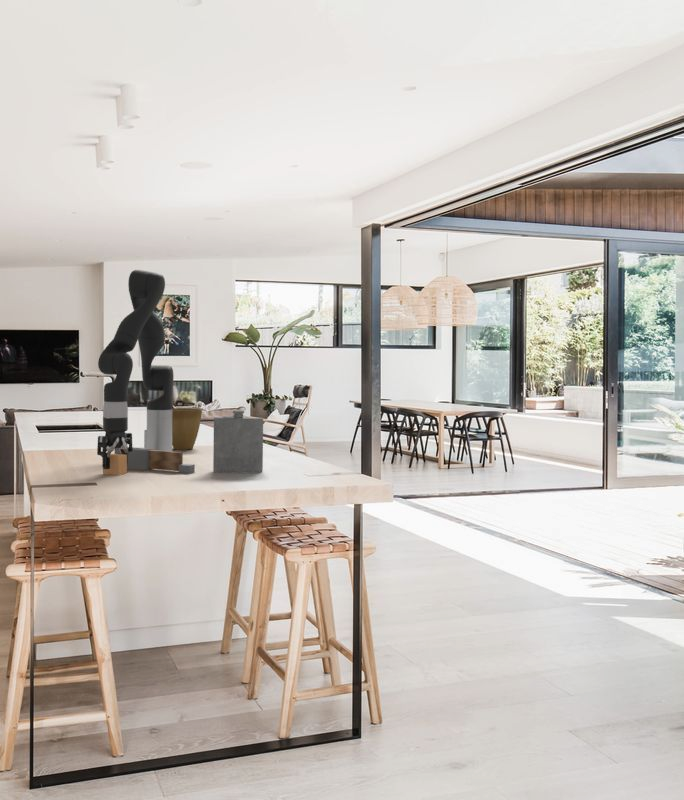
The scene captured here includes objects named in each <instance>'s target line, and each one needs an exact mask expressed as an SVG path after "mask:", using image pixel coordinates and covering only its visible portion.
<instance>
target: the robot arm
mask: <svg viewBox="0 0 684 800" xmlns="http://www.w3.org/2000/svg"><path fill="white" fill-rule="evenodd" d="M127 287H128V292H129V293H128V294H129V297H130V301H131V305H132V308H133V311H132V312H131V313H129V314H128V315H126V316H125V317H124V318H123V319H122V320H121V321H120V323H119V326H118V327H117V329H116V332H115V334H114V337H113V339H112V340H111V341H110V342H109V343H108V344H107V346H106V347H105V348H104V349H103V351H102V352H101V353H100V355H99V358H98V362H97V364H98V365H97V367H98V369H99V371H100V373H102V374H104V375H111V376H112V375H114V376H115V378H114V380H113V381H111V382H107V383H105V384H104V386H103V406H102V407H103V408H102V430H103V432H105V434H104V435H98V436H97V447H96V448H97V450H96V451H97V452H96V454H97V455H98V456H99V457H100V456H101V459H102V465H101V466H102V470H103V469H110V457H109V456H110V454H112V452H115V449H116V448H117V449H119V451H120V453H121V454H124V455H127V463H128V454H129V452H132V450H133V449H132V447H133V434H132V432H127V431H128V429H129V427H128V426H129V424H128V423H129V422H128V420H129V419H128V418H129V409H128V407H129V406H128V387H129V383H130V380H131V379H130V378H131V375H132V371H133V367H134V362H133V358H132V357H131V355H130V354H129V352H133V351H134V349H135V347H136V345H137V342H138V346H139V347H138V348H139V352H140V360H141V374H142V384H143V387H144V389H145V390H147V391H153V392H159V391H160V392H161V391H162V392H163V393H162V395H160V396H159V397H157V398H154V399H151V400H149V401H147V402H146V429H144V434H143V435H144V437H143V443H144V444H143V445H144V448H147V449H154V450H158V451H171V452H173V446H172V408H173V392H174V376H175V375H174V368H173V367H172V366H170V365H154V364H152V363H153V361H154V359H155V357H157V355H158V354H159V353H160V351H161V350H162V348H163V346H164V344H165V342H166V336H165V329H164V323H163V321H162V320H161V318H160V317H159V316H158V314H157V313H156V312H155V311H154V310H155V309H156V307H157V306H158V303H159V302H160V301H161V299H162V297H163V295H164V292H165V288H166V281H165V277H164V275H163V274H161V273H158V272H154V271H148V270H141V269H135V270H133V271H131V272H130V274H129V276H128V285H127ZM127 447H129V448H127Z"/></svg>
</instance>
